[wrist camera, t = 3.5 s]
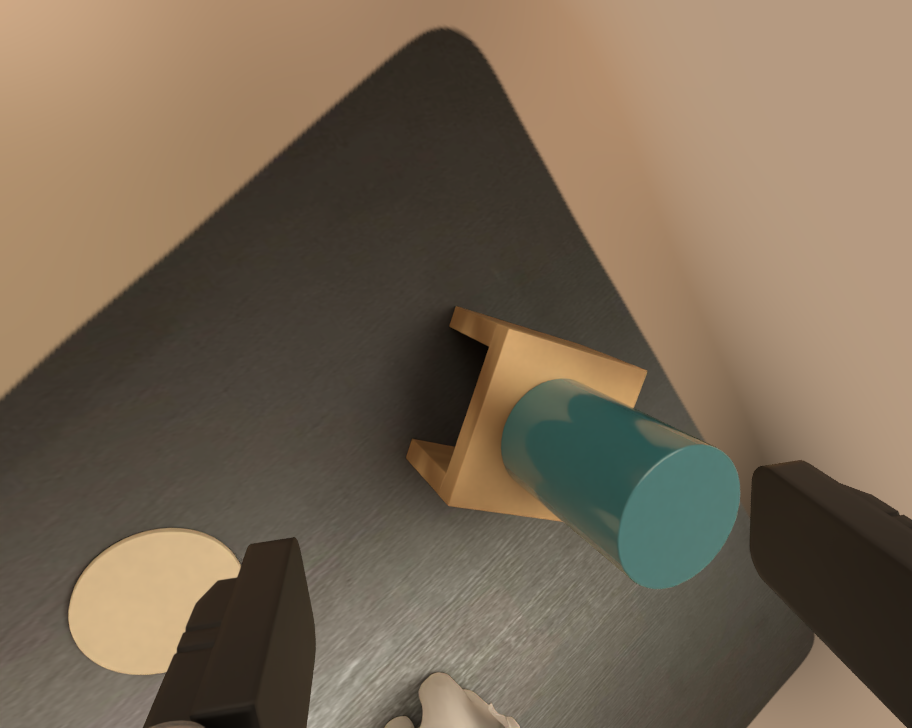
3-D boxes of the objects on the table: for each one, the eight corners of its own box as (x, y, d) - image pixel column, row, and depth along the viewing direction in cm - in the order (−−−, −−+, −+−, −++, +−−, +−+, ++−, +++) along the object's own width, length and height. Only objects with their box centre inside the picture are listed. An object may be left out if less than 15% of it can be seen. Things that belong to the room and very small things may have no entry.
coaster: (91, 519, 29) (90, 523, 29) (262, 535, 33) (264, 539, 33) (51, 670, 30) (50, 675, 30) (222, 669, 34) (222, 674, 34)
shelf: (455, 305, 34) (508, 328, 29) (581, 344, 39) (648, 370, 33) (405, 458, 36) (448, 506, 30) (532, 480, 40) (589, 525, 35)
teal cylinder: (524, 366, 30) (654, 432, 22) (617, 391, 33) (761, 458, 25) (484, 481, 31) (595, 585, 23) (578, 497, 34) (706, 594, 26)
